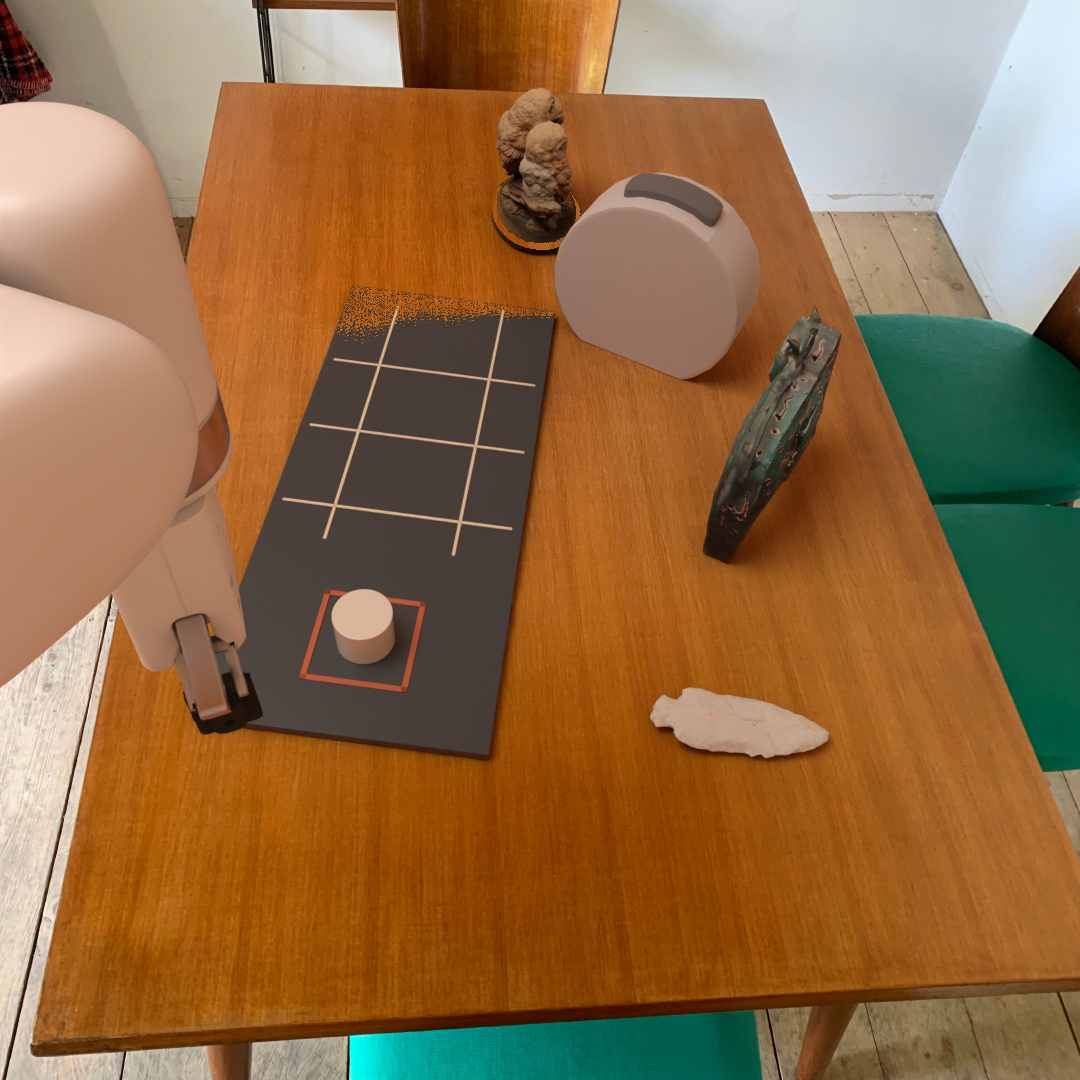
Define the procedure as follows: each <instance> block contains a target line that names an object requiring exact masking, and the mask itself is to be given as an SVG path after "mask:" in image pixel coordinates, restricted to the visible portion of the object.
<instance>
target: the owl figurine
mask: <svg viewBox="0 0 1080 1080" xmlns="http://www.w3.org/2000/svg"><path fill="white" fill-rule="evenodd" d="M564 122H565V115H564V108H563V104H562V103H561V100H560V99H559V98H558V97H557V96H555V95H554V94H553V93H552V91H551V90H549V89H547V88H544V87H538V88H531V89H529V90H528V91H526V92H525V93H523V94H521V95H520V96H519V97H518V98H517V99H516V100H515V101H514V102H513V104H512V106H511V108H510V109H508V110H506V111H504V113H502V114H501V117H500V119H499V121H498V124H497V132H496V133H497V139H496V141H495V149H496V150H497V151H498V155H499V159H500V161H501V166H502V169H503V174H505V176H509V177H508V178H507V179H505V180H504V181H505V183H504V184H503V185H502V186H501V188H500V190H499V192H498V195H497V209H498V210H497V212H498V215H499V216H498V217H500V218H499V219H500V220H501V222H502V224H503V225H505V226H504V227H506V229H508V232H510V233H513V234H514V235H516V237H517V238H519V239H522V240H524V241H526V242H534V243H545V242H546V243H547V242H548V243H549V242H556V241H557V240H558V239H559V240H560V238H563V237H565V236H566V235H567V234H568V232H569V230H570V229H571V227H572V226H573V225H574V223H575V219H576V206H575V201H574V199H573V197H572V194H573V193H572V192H571V191H572V184H571V182H572V172H573V171H572V168H571V164H570V158H569V157H568V156H567V150H568V142H569V140H568V135H567V133H566V130H565V127H564V126H563V124H564ZM570 192H571V193H572V194H571V193H570ZM490 213H491V219H492V222H493V226H494V228H495V231H496V232H497V233H498V235H499V236H500V237H501V238H502V239H503V240H504V241H505V242H506V243H508V244H509V245H511V247H513V248H515V249H517V250H523V251H524V252H527V253H530V252H533V253H537V252H538V253H543V252H549V253H554V252H556V253H558V251H559V247H557V248H554V249H550V250H536V249H530V248H525V247H523V246H520V245H518V244H515V243H514V242H512V241H511V240H509V239H508V238H507V237H506V236H505V235H504V234H502V232H501V231H500V230H499V228H498V227H497V225H496V223H495V221H494V218H493V215H492V209H491V208H490Z"/></svg>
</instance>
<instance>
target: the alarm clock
mask: <svg viewBox="0 0 1080 1080" xmlns="http://www.w3.org/2000/svg"><path fill="white" fill-rule="evenodd" d="M761 280H762V272H761V262H760V256H759V250H758V249H757V246H756V243H755V241H754V238H753V236H752V234H751V231H750V229H749V227H748V226H747V224H746V223H745V222H744V220H743V219H742V218H741V217H740V215H739V213H738V212H737V211H736V210H735V208H734V207H733V206H732V205H731V204H730V203H729V202H727V201H726V200H725V199H724V198H723V197H721V196H720V195H719V194H718V193H716V192H715V191H714V190H713V189H711V188H710V187H708V186H706V185H703V184H702V183H699V182H697V181H695V180H693V179H691V178H689V177H686V176H681V175H677V174H672V173H667V172H651V173H649V172H648V173H647V172H645V173H644V172H643V173H637V174H634V175H632V176H629V177H626V178H624V179H622V180H619V181H616V182H614V183H613V184H612V185H611V186H610V187H609V188H607V189H606V190H605V191H604V192H603V193H601V194H600V195H599V196H598V197H597V198H596V199H595V200H594V201H593V202H592V203H591V205H590V206H589V207H588V208H587V209H586V210H585V211H584V213H583V214H581V217H580V218H579V220H578V221H577V222H576V223H575V224H574V225H573V226H572V227H571V229H570V230H569V232H568V234H567V235H566V237H565V238H564V240H563V241H562V243H561V244H560V247H559V251H557V255H556V259H555V263H554V289H555V292H556V296H557V299H558V303H559V307H560V310H561V313H562V314H563V315H564V318H565V319H566V322H567V323H568V325H569V327H570V328H571V330H572V332H573V333H574V334H575V335H576V336H577V338H578V339H579V340H580V341H582V342H585V343H587V344H590V345H591V346H595V347H597V348H600V349H603V350H604V351H607V352H610V353H612V354H615V355H618V356H620V357H623V358H625V359H627V360H630V361H633V362H635V363H638V364H640V365H643V366H646V367H647V368H651V369H652V370H656V371H658V372H660V373H663V374H666V375H668V376H671V377H673V378H676V379H678V380H688V379H693V378H695V377H697V376H699V375H701V374H703V373H705V372H707V371H709V370H711V369H713V367H715V365H717V364H718V363H719V362H720V361H721V360H722V359H723V358H724V357H725V355H727V353H728V352H729V350H730V348H731V346H732V345H733V344H734V342H735V340H736V338H737V336H738V335H739V333H740V332H741V330H742V329H743V327H744V325H745V323H746V321H747V320H748V318H749V316H750V314H751V313H752V310H753V308H754V307H755V305H756V303H757V301H758V297H759V294H760V293H759V292H760V287H761V286H760V285H761Z"/></svg>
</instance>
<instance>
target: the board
mask: <svg viewBox="0 0 1080 1080" xmlns="http://www.w3.org/2000/svg"><path fill="white" fill-rule="evenodd" d="M352 286H353V287H352ZM352 286H351V288H350V291H349V293H348V296H347V298H346V301H345V304H344V306H343V310H342V312H341V315H340V317H339V320H338V322H337V325H336V328H335V331H334V334H333V336H332V338H331V341H330V344H329V347H328V349H327V352H326V355H325V356H324V357H325V358H324V360H323V363H322V365H321V368H320V372H319V373H318V376H317V379H316V381H315V384H314V387H313V389H312V392H311V395H310V397H309V400H308V403H307V406H306V408H305V411H304V413H303V416H302V419H301V421H300V424H299V427H298V430H297V432H296V435H295V437H294V441H293V442H292V446H291V448H290V451H289V453H288V456H287V458H286V461H285V464H284V467H283V469H282V472H281V475H280V477H279V480H278V483H277V486H276V488H275V491H274V493H273V496H272V499H271V501H270V504H269V507H268V510H267V512H266V515H265V517H264V520H263V523H262V526H261V528H260V531H259V534H258V536H257V539H256V541H255V544H254V547H253V549H252V552H251V555H250V557H249V560H248V563H247V566H246V569H245V571H244V573H243V576H242V579H241V582H240V583H239V586H238V587H239V593H240V599H241V605H242V611H243V618H244V625H245V631H246V638H245V640H244V642H243V644H242V645H241V646H240V647H239V648H238V649H237V648H236V649H237V652H238V656H239V659H240V663H241V666H242V670H243V672H246V673H248V672H249V673H250V676H251V679H252V681H253V684H254V687H255V690H256V693H257V696H258V698H259V701H260V704H261V707H262V712H263V716H262V717H261V718H259V719H257V720H254V721H251V722H247V724H246V726H245V727H243V728H242V729H248V730H249V729H250V730H258V731H265V732H271V733H272V732H273V733H280V734H288V735H296V736H303V737H309V738H318V739H323V740H324V739H325V740H326V739H327V740H333V741H339V742H341V741H342V742H348V743H355V744H362V745H371V746H379V747H387V748H393V749H400V750H409V751H415V752H422V753H431V754H437V755H447V756H454V757H461V758H470V759H476V760H482V761H483V760H485V761H489V759H490V753H491V747H492V740H493V734H494V726H495V721H496V714H497V708H498V700H499V693H500V687H501V679H502V673H503V667H504V660H505V654H506V648H507V647H506V646H507V639H508V634H509V633H508V632H509V627H510V620H511V613H512V605H513V601H514V600H513V599H514V593H515V587H516V580H517V573H518V567H519V559H520V553H521V547H522V541H523V540H522V539H523V532H524V526H525V519H526V513H527V505H528V499H529V493H530V486H531V481H532V480H531V479H532V474H533V466H534V460H535V453H536V446H537V439H538V433H539V427H540V419H541V413H542V405H543V399H544V393H545V385H546V378H547V372H548V366H549V359H550V352H551V347H552V338H553V332H554V326H555V318H556V312H555V313H553V315H552V314H551V315H552V316H548V315H547V314H548V313H546V311H547V310H546V309H541V310H542V312H544V311H545V313H546V316H541V315H538V316H535V315H534V314H535V313H533V312H532V311H531V312H532V314H533V315H532V316H530V315H531V314H530V315H529V316H527V314H526V310H525V314H526V316H524V315H523V317H521V316H520V315H521V313H520V315H519V313H517V315H516V316H514V317H512V316H509V315H506V314H504V313H507V312H508V311H507V310H506V311H507V312H505V311H504V310H505V309H504V308H503V309H504V310H503V309H501V308H500V307H499V308H500V309H501V310H502V313H501V314H500V313H497V312H498V311H497V310H495V312H494V314H500V315H501V316H500V315H494V314H493V310H492V309H491V310H492V311H488V310H489V308H488V307H487V309H488V310H487V311H488V312H491V314H489V313H487V314H486V315H479V313H478V314H477V313H475V314H474V313H472V315H473V314H474V315H479V317H478V316H474V317H473V318H470V317H472V315H470V313H469V311H470V310H468V309H466V310H465V313H466V311H467V310H468V312H467V313H466V314H469V315H468V316H465V317H461V316H463V315H465V314H462V312H463V311H462V310H463V309H462V308H461V309H462V310H461V309H460V310H461V311H462V312H461V311H460V312H459V311H458V310H459V308H460V307H462V306H459V308H458V309H457V310H456V309H454V308H453V307H451V309H452V308H453V309H454V310H456V311H458V312H459V313H461V314H460V315H458V314H457V315H458V316H454V315H456V313H455V311H454V315H453V314H451V313H449V312H448V311H451V310H448V311H447V312H448V314H451V315H453V316H452V318H450V317H451V315H448V316H445V315H441V314H442V313H443V312H441V311H440V312H438V314H439V313H441V314H440V316H439V315H437V316H436V317H434V316H435V315H433V313H435V312H436V311H435V312H433V309H434V308H432V316H431V314H430V313H431V312H430V311H429V310H428V311H429V312H430V313H429V314H426V313H428V312H425V311H426V309H425V311H424V313H423V312H421V311H420V310H419V309H418V310H419V311H420V312H421V313H422V314H421V313H420V312H419V311H418V310H415V312H416V311H418V312H417V315H418V316H417V315H416V316H415V317H412V316H414V315H415V314H413V312H410V313H412V314H413V315H412V316H410V317H408V315H410V314H409V312H408V314H407V312H406V311H405V312H403V313H404V316H403V317H404V318H405V317H406V316H407V317H406V318H405V321H404V320H403V319H402V314H401V315H400V314H399V313H400V310H399V309H400V308H399V306H396V308H397V307H398V309H396V310H395V312H393V313H392V314H393V315H394V316H392V315H391V316H388V315H389V314H388V313H390V312H391V311H390V312H388V311H387V312H388V313H387V312H386V314H388V315H386V318H387V317H391V318H390V319H392V318H393V319H392V321H391V320H389V321H390V322H383V323H382V322H381V323H379V325H380V326H379V325H378V326H377V325H376V326H377V327H378V328H379V329H378V330H379V331H378V330H376V329H377V327H375V326H374V325H375V324H374V325H373V323H372V322H373V320H372V319H371V320H372V322H371V321H370V320H369V321H368V322H369V323H371V324H372V325H373V326H374V327H373V326H371V327H370V326H369V325H368V324H367V326H365V325H364V328H363V326H361V325H362V323H360V327H358V328H356V329H358V330H359V331H356V329H355V328H354V327H355V325H358V326H359V324H355V321H356V320H357V321H358V320H359V319H356V318H355V317H357V316H358V315H355V317H354V318H355V319H356V320H354V321H353V325H352V326H350V325H348V323H347V324H346V323H345V322H346V321H343V319H344V318H346V317H345V316H346V315H347V314H348V317H349V316H350V315H349V313H351V312H354V311H351V310H350V311H351V312H350V311H348V312H347V310H349V308H348V307H350V305H349V304H348V305H349V306H348V305H347V304H346V302H347V300H348V302H349V301H350V300H351V299H348V298H349V294H350V293H351V294H352V296H353V297H355V294H354V295H353V292H354V291H353V290H352V291H353V292H351V289H352V288H355V287H354V286H355V285H354V284H353V285H352ZM356 286H357V287H359V286H361V285H356ZM361 287H363V288H364V287H365V288H369V290H372V289H370V288H371V287H370V286H369V287H368V286H361ZM359 288H360V287H359ZM363 288H361V289H363ZM365 288H364V289H365ZM375 288H376V289H378V290H377V291H382V289H383V290H385V291H388V290H389V289H384V288H377V287H375ZM355 289H356V288H355ZM355 289H354V290H355ZM361 289H360V290H361ZM364 289H363V290H364ZM376 289H375V290H376ZM379 289H380V290H379ZM365 290H366V289H365ZM390 290H391V291H394V290H392V289H390ZM367 291H368V290H366V291H364V293H365V294H366V292H367ZM398 291H399V292H401V293H406V292H407V291H400V290H398ZM373 292H374V291H373ZM399 292H398V293H397V295H400V294H399ZM361 293H362V292H360V291H359V294H360V295H361ZM364 293H363V295H362V296H364ZM369 293H370V292H369ZM369 293H367V294H366V296H367V295H368V294H369ZM375 293H377V292H375ZM375 293H372V294H375ZM381 293H382V292H381ZM411 293H412V292H407V293H406V294H401V295H407V294H411ZM413 293H414V292H413ZM356 294H357V292H356ZM378 294H380V293H378ZM383 294H384V293H383ZM386 294H387V293H386ZM394 294H395V293H394ZM415 294H418V295H419V294H420V295H421V296H422V295H424V294H422V293H414V294H413V295H415ZM376 295H377V294H376ZM390 295H391V298H392V297H393V296H394V295H393V293H392V294H390ZM425 295H426V296H427V295H428V294H425ZM352 296H351V298H352V299H354V298H353V297H352ZM369 296H370V295H369ZM383 296H384V297H385V296H386V295H383ZM408 296H409V295H408ZM408 296H406V297H408ZM421 296H420V298H419V296H418V298H416V299H415V300H417V299H418V300H420V299H421V300H423V299H424V298H423V296H422V298H423V299H422V298H421ZM430 296H432V297H434V296H435V295H430ZM436 296H437V297H439V298H440V297H442V298H443V297H444V298H445V300H446V298H447V297H445V296H438V295H436ZM372 297H373V296H372ZM379 297H381V298H382V296H379ZM379 297H378V295H377V298H379ZM395 297H396V295H395ZM403 297H405V296H403ZM409 297H411V295H410V296H409ZM357 298H359V297H358V295H357ZM365 298H367V297H365ZM374 298H376V296H375V297H374ZM374 298H373V299H374ZM393 298H394V297H393ZM399 298H400V297H399ZM413 298H414V297H413ZM427 298H430V297H429V296H427ZM434 298H436V297H434ZM439 298H437V299H439ZM448 298H449V299H451V298H453V299H455V298H454V297H448ZM363 299H364V298H363V297H362V302H364V303H365V301H363ZM367 299H368V300H370V299H371V298H370V299H369V297H368V298H367ZM373 299H372V300H373ZM379 299H380V298H379ZM383 299H384V298H383ZM402 299H403V298H402ZM408 299H409V298H408ZM430 299H431V298H430ZM432 299H433V298H432ZM449 299H448V300H449ZM458 299H459V300H464V301H465V300H466V299H462V298H458ZM354 300H355V299H354ZM358 300H359V299H358ZM360 300H361V296H360ZM372 300H371V301H372ZM375 300H376V299H375ZM375 300H374V301H375ZM377 300H378V299H377ZM377 300H376V301H377ZM380 300H382V299H380ZM380 300H379V301H380ZM384 300H385V299H384ZM387 300H388V296H387ZM392 300H393V301H394V299H392ZM398 300H399V299H398V298H397V300H396V304H397V303H398V302H397V301H398ZM404 300H407V299H404ZM445 300H444V301H445ZM374 301H373V302H374ZM382 301H383V300H382ZM385 301H386V300H385ZM388 301H389V302H390V301H391V300H388ZM388 301H387V304H388ZM393 301H392V302H393ZM402 301H403V300H402ZM408 301H409V300H408ZM413 301H414V300H413ZM413 301H412V302H413ZM433 301H434V300H433ZM438 301H439V300H438ZM468 301H471V302H472V301H473V300H469V299H468ZM468 301H467V302H468ZM474 301H475V302H477V304H478V302H479V301H478V300H477V301H476V300H474ZM348 302H347V303H348ZM352 302H353V301H352ZM355 302H358V301H356V300H355ZM380 302H381V301H380ZM380 302H379V303H380ZM383 302H384V301H383ZM394 302H395V301H394ZM394 302H393V304H395V303H394ZM400 302H401V301H400ZM406 302H407V301H405V303H406ZM414 302H415V301H414ZM439 302H441V303H440V304H442V301H439ZM448 302H449V301H448ZM454 302H455V300H454ZM454 302H453V303H454ZM461 302H462V301H461ZM482 302H483V301H482ZM349 303H350V304H351V302H349ZM359 303H360V301H359ZM375 303H376V302H375ZM377 303H378V302H377ZM377 303H376V304H377ZM381 303H382V302H381ZM381 303H380V304H379V305H380V307H382V306H383V305H382V304H381ZM384 303H385V302H384ZM384 303H383V304H384ZM427 303H428V302H426V305H427ZM432 303H435V302H432ZM432 303H431V302H430V305H431V304H432ZM445 303H447V302H445ZM453 303H451V304H453ZM462 303H463V302H462ZM465 303H466V301H465ZM472 303H473V302H472ZM472 303H470V304H472ZM483 303H485V304H486V303H487V306H489V305H488V303H489V302H483ZM368 304H369V302H368ZM368 304H367V301H366V306H367V305H368ZM372 304H373V303H372ZM372 304H371V303H370V305H371V306H372ZM376 304H373V305H376ZM407 304H408V303H407ZM407 304H405V305H407ZM411 304H412V303H411ZM417 304H418V303H417ZM417 304H414V305H417ZM474 304H475V303H474ZM474 304H473V305H474ZM477 304H476V305H477ZM491 304H492V305H493V304H495V307H497V306H498V304H499V305H500V306H501V305H502V306H503V305H504V304H500V303H491ZM491 304H490V305H491ZM496 304H497V306H496ZM345 305H347V306H348V307H347V306H346V307H347V308H346V307H345ZM352 305H353V304H352ZM352 305H351V306H352ZM354 305H356V303H354ZM358 305H359V304H357V307H358ZM361 305H362V303H361ZM361 305H360V307H361ZM363 305H364V304H363ZM379 305H378V306H379ZM381 305H382V306H381ZM409 305H410V303H409ZM419 305H420V302H419ZM421 305H422V304H421ZM421 305H420V307H421ZM458 305H460V304H459V301H458ZM468 305H469V304H468ZM384 306H385V305H384ZM384 306H383V307H384ZM391 306H392V305H391ZM402 306H403V305H402ZM402 306H401V310H402ZM412 306H413V305H412ZM422 306H423V305H422ZM438 306H439V305H438ZM438 306H437V307H438ZM441 306H442V305H441ZM444 306H445V305H444ZM448 306H450V305H448ZM465 306H466V305H465ZM469 306H470V305H469ZM471 306H472V305H471ZM478 306H480V305H478ZM478 306H477V307H478ZM493 306H494V305H493ZM506 306H507V307H508V306H509V305H508V304H507V305H506ZM513 306H514V307H516V306H515V305H513ZM354 307H355V306H353V307H350V308H352V310H353V309H354ZM360 307H358V309H359V308H360ZM369 307H370V306H369ZM376 307H377V306H376ZM383 307H382V308H383ZM385 307H386V306H385ZM385 307H384V308H385ZM387 307H388V306H387ZM387 307H386V308H387ZM389 307H390V305H389ZM389 307H388V308H389ZM404 307H405V306H404ZM404 307H403V308H404ZM407 307H409V306H407ZM407 307H406V308H407ZM413 307H414V306H413ZM417 307H418V306H417ZM428 307H429V305H428V306H427V308H428ZM435 307H436V306H435ZM457 307H458V306H457ZM467 307H468V306H467ZM473 307H474V306H473ZM485 307H486V305H485V306H484V308H483V310H484V309H485ZM490 307H491V306H490ZM495 307H494V308H495ZM514 307H513V308H514ZM519 307H520V308H521V307H522V306H519ZM345 308H346V309H347V310H346V309H345ZM363 308H364V306H362V308H361V310H362V309H363ZM374 308H375V307H374ZM384 308H383V309H384ZM386 308H385V309H386ZM388 308H387V309H388ZM390 308H391V307H390ZM394 308H395V306H394ZM394 308H393V307H392V309H394ZM415 308H416V307H415ZM442 308H443V307H442ZM442 308H439V309H438V310H440V309H442ZM444 308H447V307H444ZM449 308H450V307H449ZM449 308H447V309H449ZM469 308H470V307H469ZM475 308H476V307H475ZM479 308H481V307H479ZM479 308H477V309H476V310H478V309H479ZM499 308H497V309H499ZM522 308H524V307H522ZM525 308H526V309H527V308H529V309H530V310H531V309H533V310H534V309H535V310H536V311H537V310H539V309H537V308H531V307H525ZM344 309H345V311H344ZM366 309H367V308H365V310H364V313H365V312H366ZM380 309H381V308H380ZM380 309H379V311H380ZM385 309H384V310H385ZM408 309H410V307H409V308H408ZM423 309H424V307H423ZM428 309H429V308H428ZM453 309H452V310H453ZM464 309H465V308H464ZM510 309H511V307H510ZM354 310H356V309H354ZM373 310H374V309H373V308H372V311H373ZM375 310H376V309H375ZM384 310H383V311H384ZM390 310H391V309H390ZM397 310H399V313H398V311H397ZM404 310H405V309H404ZM410 310H411V311H412V310H414V309H410ZM421 310H422V309H421ZM430 310H431V309H430ZM434 310H435V309H434ZM444 310H446V309H444ZM444 310H442V311H444ZM481 310H482V309H481ZM516 310H517V308H516ZM543 310H544V311H543ZM343 311H344V312H345V313H347V314H346V315H345V316H344V318H343V316H342V313H343ZM357 311H359V310H357ZM372 311H371V310H369V309H368V312H369V313H370V314H371V312H372ZM376 311H377V310H376ZM379 311H378V312H379ZM392 311H394V310H392ZM407 311H408V310H407ZM422 311H423V310H422ZM471 311H472V312H473V310H471ZM496 311H497V312H496ZM514 311H515V310H514ZM518 311H519V310H518ZM520 311H521V310H520ZM536 311H535V312H536ZM550 311H551V312H554V311H553V310H550ZM373 312H374V313H373ZM373 312H372V313H373V314H374V315H376V316H378V315H377V314H376V313H375V311H373ZM381 312H382V311H381ZM415 312H414V313H415ZM451 312H452V311H451ZM475 312H478V311H475ZM529 312H530V311H529ZM531 312H530V313H531ZM540 312H541V311H540ZM357 313H358V312H357ZM369 313H368V315H369V316H370V314H369ZM384 313H385V312H384ZM397 313H398V314H399V316H401V318H398V320H399V321H397V320H395V319H397V317H399V316H397ZM405 313H406V314H407V315H405ZM419 313H420V314H419ZM444 313H446V312H444ZM481 313H482V314H483V313H484V312H480V314H481ZM509 313H510V312H509ZM536 313H537V312H536ZM351 314H352V313H351ZM354 314H356V313H355V312H354ZM354 314H353V315H354ZM360 314H363V313H360ZM360 314H359V315H360ZM382 314H383V312H382V313H380V312H379V315H382ZM423 314H424V315H423ZM435 314H437V313H435ZM507 314H508V313H507ZM523 314H524V310H523ZM528 314H529V313H528ZM539 314H543V313H539ZM365 315H366V314H365ZM365 315H364V317H366V316H367V315H366V316H365ZM420 315H421V316H422V315H423V316H422V317H421V316H420ZM429 315H430V317H426V316H429ZM489 315H490V316H489ZM491 315H494V316H491ZM510 315H514V314H512V313H510ZM518 315H519V316H518ZM544 315H545V314H544ZM351 316H352V315H351ZM369 316H368V317H369ZM382 316H384V315H382ZM396 316H397V317H396ZM419 316H420V317H419ZM444 316H445V317H447V320H448V321H445V320H444V319H445V318H441V317H444ZM504 316H509V318H507V317H504ZM358 317H360V316H358ZM362 317H363V316H362V315H361V319H364V318H362ZM373 317H375V316H373ZM448 317H449V318H448ZM458 317H459V318H460V319H458ZM534 317H535V318H534ZM540 317H543V319H542V318H540ZM546 317H550V319H549V318H546ZM340 318H343V319H340ZM351 318H352V317H351ZM351 318H350V322H352V319H353V318H352V319H351ZM377 318H378V317H377ZM384 318H385V316H384ZM384 318H382V319H383V320H385V319H384ZM408 318H411V320H412V321H411V320H409V319H408ZM415 318H417V320H416V319H415ZM429 318H432V319H431V320H429ZM437 318H439V320H436V319H437ZM455 318H457V319H455ZM465 318H466V320H463V319H465ZM519 318H521V319H519ZM527 318H530V319H527ZM347 319H349V318H347ZM347 319H345V320H347ZM361 319H360V320H361ZM374 319H375V318H374ZM378 319H379V318H378ZM382 319H381V317H380V319H379V320H380V321H383V320H382ZM388 319H389V318H388ZM388 319H386V320H388ZM401 319H402V321H400V320H401ZM413 319H415V320H413ZM420 319H424V320H420ZM427 319H428V320H427ZM507 319H509V321H508V320H507ZM340 320H342V321H343V323H345V325H348V326H350V329H348V330H349V332H348V333H346V332H347V331H348V330H346V331H345V329H346V328H348V327H346V326H345V325H344V326H345V327H344V326H342V329H343V330H342V331H340V329H341V328H340V326H338V324H339V322H340V324H341V323H342V321H340ZM367 320H368V319H365V321H367ZM375 320H376V319H375ZM379 320H378V321H379ZM449 320H451V321H449ZM452 320H454V321H452ZM459 320H460V321H459ZM470 320H471V321H470ZM472 320H474V321H472ZM348 321H349V320H348ZM361 321H363V320H361ZM361 321H360V322H361ZM457 321H459V322H457ZM363 322H364V321H363ZM368 322H367V323H368ZM375 322H376V321H374V323H375ZM395 322H397V324H394V323H395ZM408 322H409V323H408ZM415 322H416V323H415ZM421 322H422V323H421ZM429 322H430V323H429ZM445 322H446V323H445ZM357 323H358V322H357ZM364 323H365V322H364ZM384 323H386V324H388V323H389V324H390V323H391V324H390V325H386V326H385V325H383V324H384ZM400 323H401V324H400ZM452 323H453V324H452ZM340 324H339V325H340ZM349 324H350V323H349ZM381 324H382V325H383V326H381ZM458 324H459V325H458ZM403 325H404V326H403ZM415 325H416V326H415ZM446 325H447V326H446ZM368 326H369V327H370V328H371V329H372V330H373V331H372V330H370V328H367V327H368ZM352 327H353V329H351V328H352ZM382 327H383V329H380V328H382ZM388 327H389V328H388ZM338 328H339V329H338ZM360 328H362V330H363V331H362V330H360ZM336 329H337V330H336ZM354 329H355V331H353V330H354ZM364 329H365V331H364ZM374 329H375V330H374ZM350 330H351V331H350ZM369 330H370V331H369ZM383 330H385V331H383ZM388 330H389V331H388ZM338 331H339V332H340V333H339V332H338ZM361 331H362V332H363V333H364V334H363V333H360V332H361ZM366 331H367V332H366ZM337 332H338V333H337ZM375 332H377V333H375ZM345 333H346V334H345ZM354 333H355V335H353V334H354ZM369 333H370V334H369ZM339 334H340V335H339ZM343 334H344V335H343ZM362 334H363V335H365V336H363V335H362ZM368 334H369V335H368ZM383 334H384V335H383ZM347 335H349V336H347ZM351 335H352V336H351ZM356 335H358V336H356ZM376 335H378V336H376ZM360 336H361V337H360ZM375 336H376V337H375ZM353 338H354V339H353ZM356 339H357V341H355V340H356ZM361 339H363V340H361ZM345 340H347V341H345ZM364 340H365V341H364ZM369 340H370V341H369ZM362 342H363V343H362ZM361 343H362V344H361ZM359 589H369V590H374V591H377V592H379V593H381V594H382V595H384V596H385V597H386V598H387V599H388V600H389V602H390V603H391V605H392V609H393V618H394V629H395V643H394V646H393V648H392V650H391V651H390V652H389V654H388V655H387V656H385V657H384V658H383V659H381V660H379V661H377V662H374V663H371V664H357V663H353V662H351V661H349V660H347V659H346V658H344V657H343V656H342V655H341V654H340V652H339V651H338V648H337V645H336V640H335V635H334V630H333V624H332V618H331V615H332V610H333V607H334V605H335V604H336V602H337V601H338V600H339V599H340V598H341V597H342V596H344V595H345V594H347V593H349V592H351V591H354V590H359ZM215 655H216V659H217V663H218V667H219V670H220V674H224V673H227V672H230V670H229V666H228V663H227V659H226V656H225V653H224V652H220V653H217V654H215ZM190 715H191V714H190ZM191 719H192V721H193V722H195V721H194V719H193V717H192V715H191Z"/></svg>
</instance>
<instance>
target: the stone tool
mask: <svg viewBox="0 0 1080 1080" xmlns="http://www.w3.org/2000/svg"><path fill="white" fill-rule="evenodd" d="M649 719H650V721H651V722H652V724H654V726H655V727H656V728H661V727H662V728H671V729H673V734H674V736H675V738H676V739H677V740H678V741H679V742H681V743H683V744H685V745H687V746H689V747H691V748H694V749H696V750H707V751H710V752H725V753H729V754H730V753H732V754H733V753H737V754H746V755H749V757H751V758H754V757H756V756H760V755H761V756H762V757H763V758H764V759H769V758H772V757H775V756H789V755H791V754H796V753H805V752H807V751H811V750H815V749H816V748H818V747H820V746H823V745H824V744H825V743H827V742H828V740H829V737H830V736H829V735H830V731H828V730H827V729H825V728H824V727H823V726H822V725H819V724H818V723H816V722H815V721H813V720H810V719H809V718H807V717H805V716H804V715H801V714H798V713H794V712H793V711H791V710H788V709H784V708H782V707H781V706H778V705H776V704H774V703H772V702H767V701H764V700H763V701H762V700H759V699H758V698H751V697H742V696H739V695H736V696H735V695H733V694H719V693H715V692H713V691H711V690H705V689H704V688H700V687H692V686H691V687H689V686H688V687H687V688H683V689H682V691H681V695H680V696H679V697H678V698H672V697H669V696H668V695H666V694H662V696H659V698H657V700H656V701H655V703H654V704H653V705H652V712H651V713H650V715H649Z"/></svg>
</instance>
